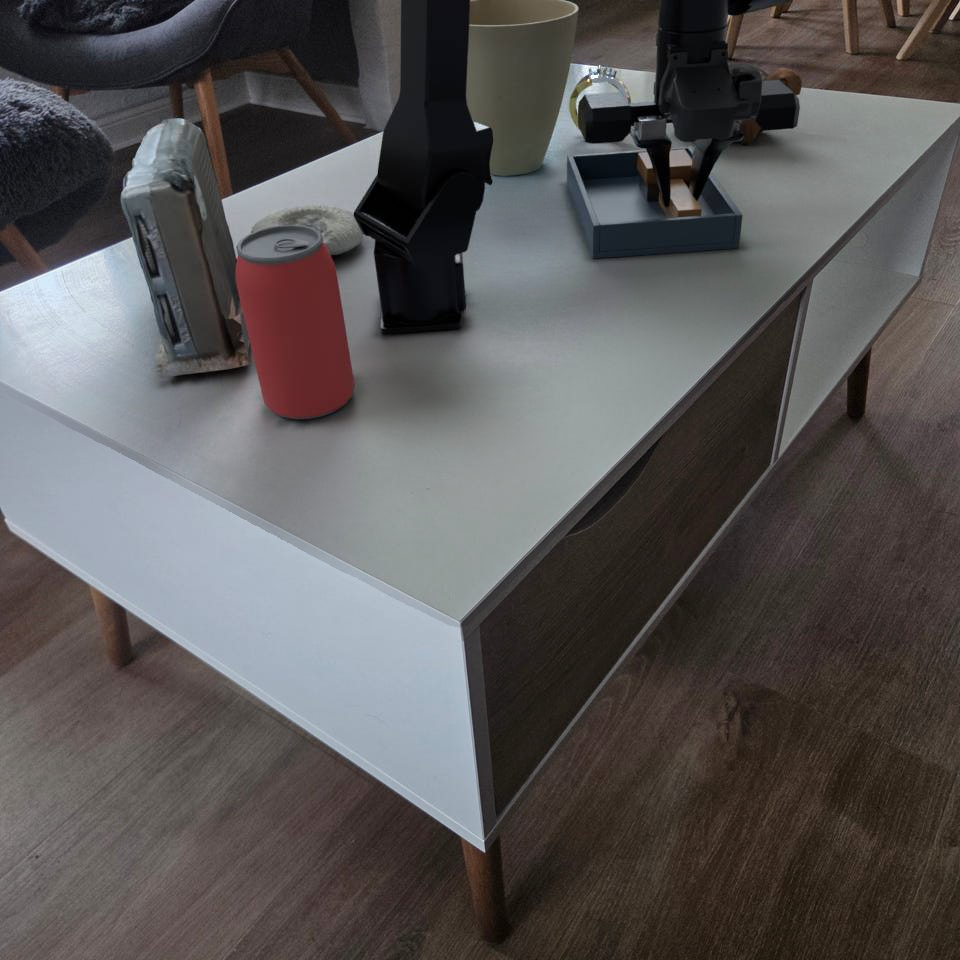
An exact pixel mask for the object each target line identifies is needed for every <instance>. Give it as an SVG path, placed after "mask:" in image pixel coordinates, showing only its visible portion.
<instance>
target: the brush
mask: <svg viewBox="0 0 960 960" xmlns="http://www.w3.org/2000/svg"><path fill="white" fill-rule="evenodd" d="M691 166H692V159H691V157H690V156H689V154H688V153H687V152H686V150H685V149H683V150H670V186H671V195H670V201H669V207H664V205H663V202H662V199H661V195H660V192H659V188H658V185H657V181H656V178H655V174H654V171H653V167H652V164H651V161H650V158H649V155H648V153H647V152H643V153H638V162H637V168H638V170H639V188H640V189H641V191H642V193H643V195H644V197H645V199H646V201H647V202H648V201H659V204H660V205H661V207H662V209H663V211H664V212H665V214H666V216H667V218H677V217H691V216H701V213H702V208H701V207H700V205H699V204H698V202H697V201H696V199H695V198H694V196H693V195H692V193H691V192H690V190H689V183H690V174H691Z"/></svg>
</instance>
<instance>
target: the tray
mask: <svg viewBox="0 0 960 960" xmlns="http://www.w3.org/2000/svg"><path fill="white" fill-rule="evenodd" d="M683 149H685V150H686V152H687V153H688V154H689V156H690V157H691V159H692V157H693V149H694V145H693V146H692V145H691V146H679V147H678V146H677V147H671V150H683ZM643 152H647V150H646V149H636V150H623V151H610V152H597V153H582V154H567V155H566V186H567V188H568V191H569V194H570V197H571V200H572V203H573V206H574V208H575V211H576V214H577V217H578V220H579V223H580V226H581V228H582V232H583V234H584V238H585V240H586V243H587V246H588V249H589V252H590V255H591V258H592V259H593V260H594V259H608V258H622V257H635V256H648V255H649V256H650V255H662V254H677V253H678V254H679V253H691V252H703V251H704V252H706V251H717V250H733V249H739V248H740V242H741V241H740V240H741V232H742V223H743V217H744V216H743V213H742V212H741V211H740V209H739V208H738V207H737V205H736V204H735V202H734V201H733V200H732V199H731V197H730V196H729V195H728V193H727V192H726V190H725V189H724V187H723V186H722V185H721V183H720V182H719V180H718V179H717V178H716V177H715V175H714V174H713V173H712V171H711V173H710V175H709V177H708V179H707V182H706V184H705V186H704V188H703V190H702V193H701V195H700V197H699V199H698V201H697V202H698V204H699V205H700V207H701V208H702V213H701V216H691V217H677V218H667V216H666V214H665V212H664V211H663V209H662V207H661V205H660V204H659V201H648V202H647V201H646V199H645V197H644V195H643V193H642V191H641V189H640V188H639V170H638V168H637V162H638V153H643Z"/></svg>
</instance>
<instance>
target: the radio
mask: <svg viewBox="0 0 960 960" xmlns="http://www.w3.org/2000/svg"><path fill="white" fill-rule="evenodd" d="M205 135H206V134H205V133H204V131H203V129H201V127H199V126H197V125H195V124H194V123H192V122H190V121H189V120H187V119H184V118H179V117H178V118H177V117H176V118H166V117H164V118H163V119H162V121H161V122H160V123H158V124H157V125H155V126H153V127H152V128H150V129H149V130H147V132H146V134H145V136H144V137H143V138H142V141H141V142H140V146H139V147H138V149H137V151H136V153H135V156H134V158H133V159H132V161H131V164H132V167H131V169H130V170H129V171H127V172H126V173H125V176H124V177H123V180H122V191H121V193H120V205H121V209H122V213H123V216H124V217H125V218H126V221H127V224H128V228H129V230H130V232H131V233H130V234H131V236H132V242H133V244H134V248H135V251H136V255H137V259H138V262H139V265H140V267H141V270H142V274H143V275H144V279H145V281H146V285H147V287H148V291H149V295H150V300H151V303H152V306H153V313H154V316H155V321H156V325H157V328H158V331H159V335H160V338H159V342H158V345H157V348H156V349H155V366H156V370H157V372H158V374H159V377H160V378H161V379H163V378H173V377H176V376H177V377H178V376H182V375H183V376H184V375H192V374H198V373H199V374H200V373H209V372H216V371H224V370H231V369H237V368H241V367H246V366H250V363H251V362H250V361H251V356H252V349H251V345H250V340H249V336H248V332H247V327H246V323H245V319H244V315H243V310H242V306H241V302H240V298H239V293H238V289H237V285H236V263H237V255H236V250H235V246H234V241H233V238H232V234H231V231H230V226H229V224H228V222H227V218H226V214H225V209H224V208H225V207H224V204H223V200H222V196H221V193H220V189H219V185H218V182H217V178H216V175H215V171H214V168H213V163H212V160H211V156H210V151H209V149H208V144H207V139H206V136H205Z"/></svg>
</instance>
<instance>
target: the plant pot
mask: <svg viewBox="0 0 960 960" xmlns="http://www.w3.org/2000/svg"><path fill="white" fill-rule="evenodd" d="M579 9H580V8H579V6H578V4H576V3H574V2H572V1H568V0H471V2H470V24H469V46H468V68H467V90H466V98H467V105H468V108H469V111H470V113H471V116H472V119H473V121H474V122H477V123H479V124H482V125H485V126H487V127H490V128H491V129H492V131H493V146H492V151H491V156H490V174H491V176H492V175H493V176H499V177H501V176H502V177H503V176H504V177H505V176H506V177H508V176H509V177H511V176H520V175H525V174H530V173H533V172H534V171H537V170H538V169H540V168H541V166H542V165H543V163H544V160H545V157H546V154H547V152H548V149H549V146H550V143H551V140H552V137H553V134H554V131H555V128H556V124H557V121H558V118H559V115H560V110H561V108H562V107H561V106H562V104H563V99H564V95H565V91H566V87H567V83H568V77H569V74H570V68H571V65H572V64H571V63H572V58H573V52H574V45H575V39H576V31H577V25H578V17H579Z"/></svg>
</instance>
